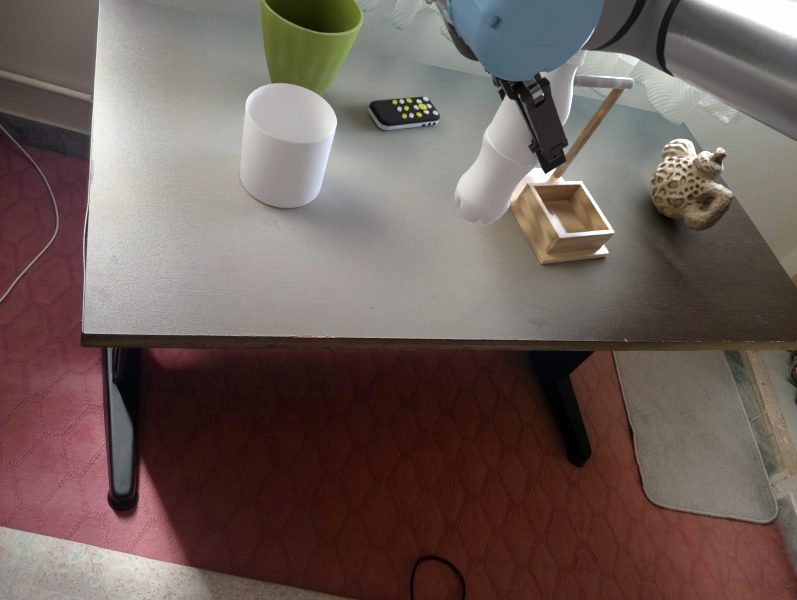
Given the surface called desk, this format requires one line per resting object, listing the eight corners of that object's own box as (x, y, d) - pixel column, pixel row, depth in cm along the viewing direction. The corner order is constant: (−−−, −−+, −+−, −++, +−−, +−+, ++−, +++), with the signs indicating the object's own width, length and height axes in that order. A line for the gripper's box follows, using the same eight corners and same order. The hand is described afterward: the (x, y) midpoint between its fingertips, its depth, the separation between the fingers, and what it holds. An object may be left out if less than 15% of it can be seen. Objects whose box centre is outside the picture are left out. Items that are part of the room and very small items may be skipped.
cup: (295, 143, 84) (308, 77, 74) (335, 196, 80) (354, 133, 71) (225, 160, 78) (228, 89, 68) (264, 218, 74) (274, 152, 65)
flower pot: (352, 90, 96) (375, 2, 83) (324, 138, 87) (345, 47, 74) (272, 55, 94) (284, -40, 82) (235, 100, 85) (242, 1, 73)
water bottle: (453, 227, 68) (556, 47, 49) (445, 186, 72) (538, 4, 52) (504, 233, 70) (622, 64, 51) (493, 193, 74) (600, 21, 55)
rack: (608, 256, 91) (700, 163, 75) (538, 264, 85) (621, 165, 68) (555, 171, 100) (626, 71, 84) (488, 173, 94) (551, 65, 77)
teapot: (623, 165, 108) (676, 104, 97) (671, 177, 111) (727, 118, 100) (654, 248, 97) (718, 189, 85) (707, 258, 100) (775, 203, 88)
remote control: (364, 108, 94) (367, 98, 92) (424, 102, 100) (427, 93, 98) (380, 132, 91) (383, 123, 90) (440, 125, 98) (444, 116, 96)
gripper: (400, -44, 49) (474, 103, 69) (497, 102, 40) (550, 223, 60) (471, -100, 47) (527, 68, 67) (589, 41, 39) (612, 186, 58)
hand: (538, 141), depth 64 cm, fingers closed on water bottle, 7 cm apart
